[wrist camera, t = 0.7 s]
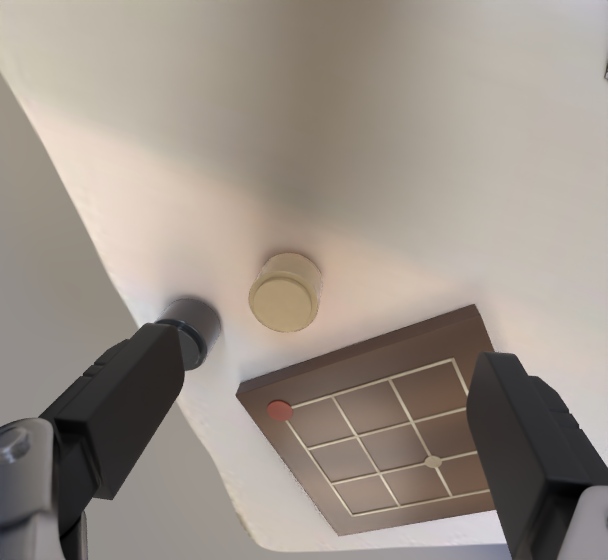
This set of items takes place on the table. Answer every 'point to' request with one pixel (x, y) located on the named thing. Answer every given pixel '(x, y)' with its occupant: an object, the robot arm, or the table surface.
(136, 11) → the table surface
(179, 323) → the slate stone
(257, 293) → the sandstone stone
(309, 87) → the table surface
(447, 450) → the board
